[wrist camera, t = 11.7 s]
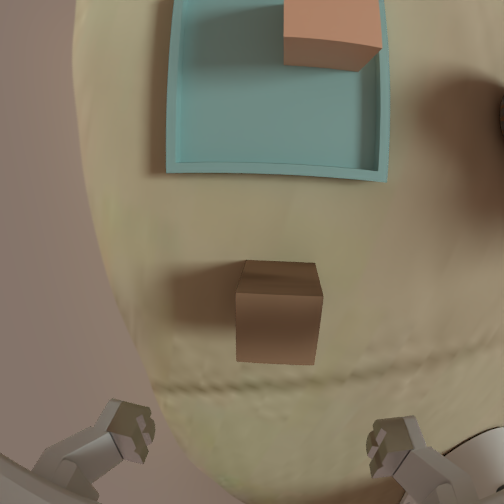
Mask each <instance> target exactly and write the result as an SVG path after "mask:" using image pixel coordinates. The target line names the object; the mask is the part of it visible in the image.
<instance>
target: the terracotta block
mask: <svg viewBox="0 0 504 504" xmlns="http://www.w3.org/2000/svg"><path fill="white" fill-rule="evenodd" d="M381 49H382V33H381V20H380V9H379V0H284V65H291V66H307V67H319V68H329V69H338V70H346V71H354V72H359V71H360V70H361V69H362V68H363V67H364V66H365V65H366V64H367V63H368V62H369V61H370V60H371V59H372V58H373V57H374V56H375V55H376V54H377V53H378V52H379V51H380V50H381Z"/></svg>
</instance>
